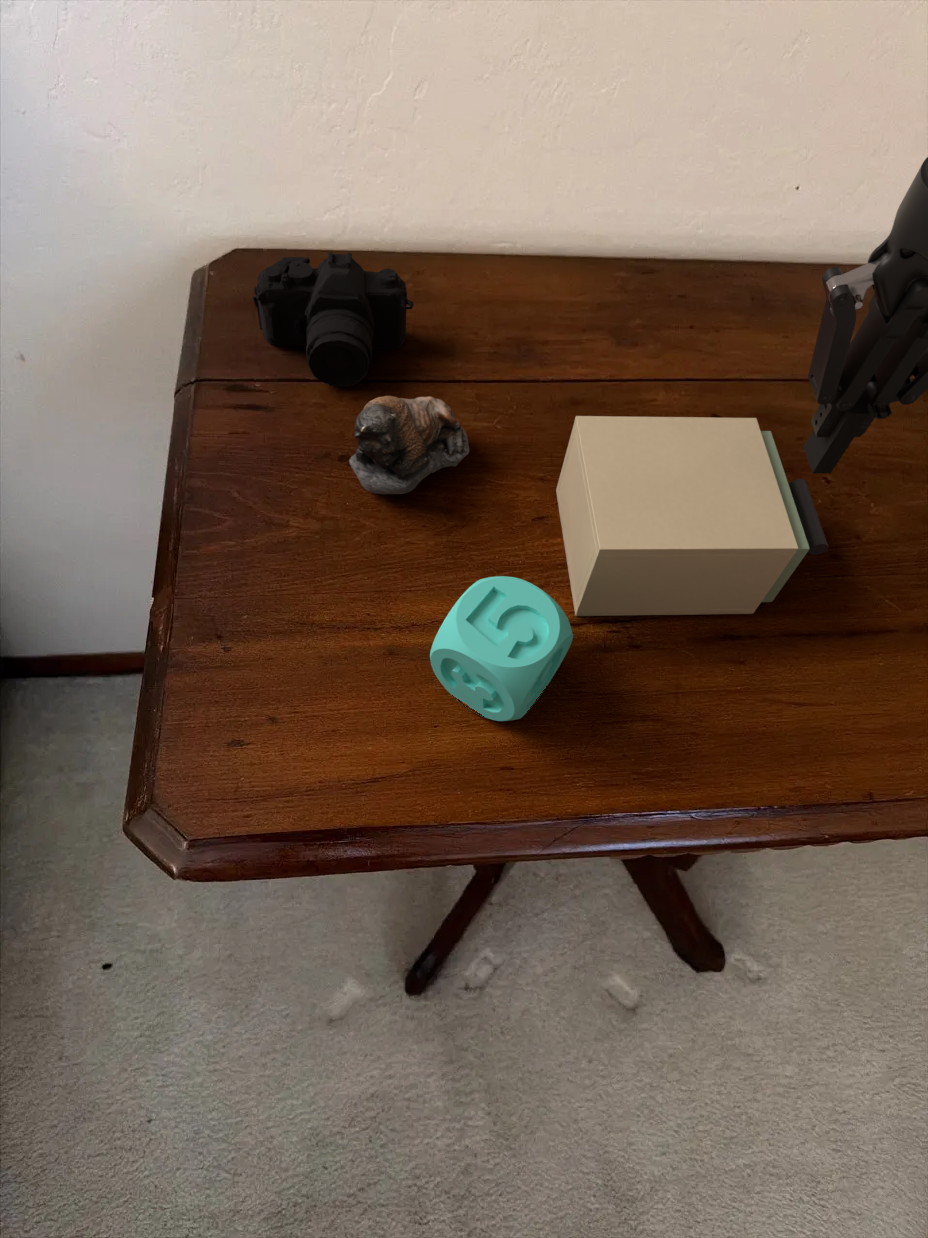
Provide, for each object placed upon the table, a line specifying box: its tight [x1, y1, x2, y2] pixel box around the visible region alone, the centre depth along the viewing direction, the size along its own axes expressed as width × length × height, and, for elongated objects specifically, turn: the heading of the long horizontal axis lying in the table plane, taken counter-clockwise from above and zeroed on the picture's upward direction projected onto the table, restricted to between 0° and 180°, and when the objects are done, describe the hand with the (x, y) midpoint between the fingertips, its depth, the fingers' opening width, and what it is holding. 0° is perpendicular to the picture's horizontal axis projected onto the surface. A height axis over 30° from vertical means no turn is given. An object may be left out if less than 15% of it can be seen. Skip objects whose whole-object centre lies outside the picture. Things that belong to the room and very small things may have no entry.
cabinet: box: [555, 415, 798, 617], centre depth 74 cm, size 16×14×10 cm
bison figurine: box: [348, 395, 470, 495], centre depth 76 cm, size 12×7×10 cm, turn 136°
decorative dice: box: [429, 575, 574, 722], centre depth 67 cm, size 8×8×8 cm
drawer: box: [760, 430, 829, 603], centre depth 75 cm, size 18×12×8 cm
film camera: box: [252, 251, 415, 388], centre depth 84 cm, size 15×10×9 cm, turn 92°
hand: (816, 459), depth 69 cm, fingers closed
